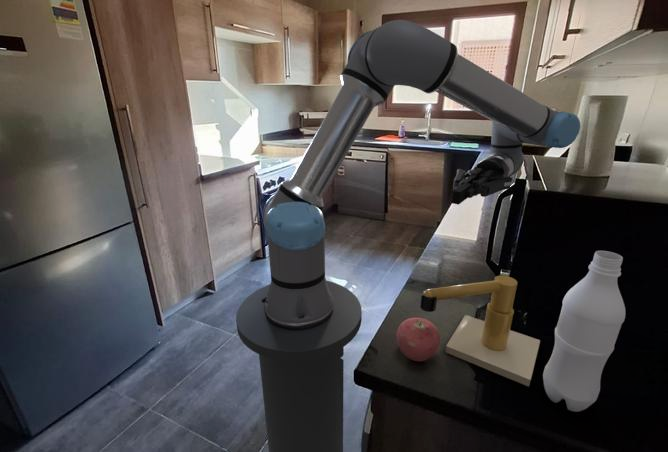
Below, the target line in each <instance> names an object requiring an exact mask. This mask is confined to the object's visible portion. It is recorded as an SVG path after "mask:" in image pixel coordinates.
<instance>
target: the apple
mask: <svg viewBox="0 0 668 452" xmlns="http://www.w3.org/2000/svg"><path fill="white" fill-rule="evenodd" d="M396 342H397V345H398V347H399V349H400V351H401V353H402V354H403V355H404V356H405V357H406V358H408V359H409V360H411V361H414V362H424V361H427V360H429V359H430V358H432V356H434V355H435V354H436V352H437V351H438V349H439V348H440V342H441V335H440V332H439V330H438V328H437V327H436V325H435V324H434V323H433V322H431V321H430V320H428V319H426V318H423V317H409V318H407V319H404V321H402V322H401V323H400V325H399V326H398V328H397V331H396Z"/></svg>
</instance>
